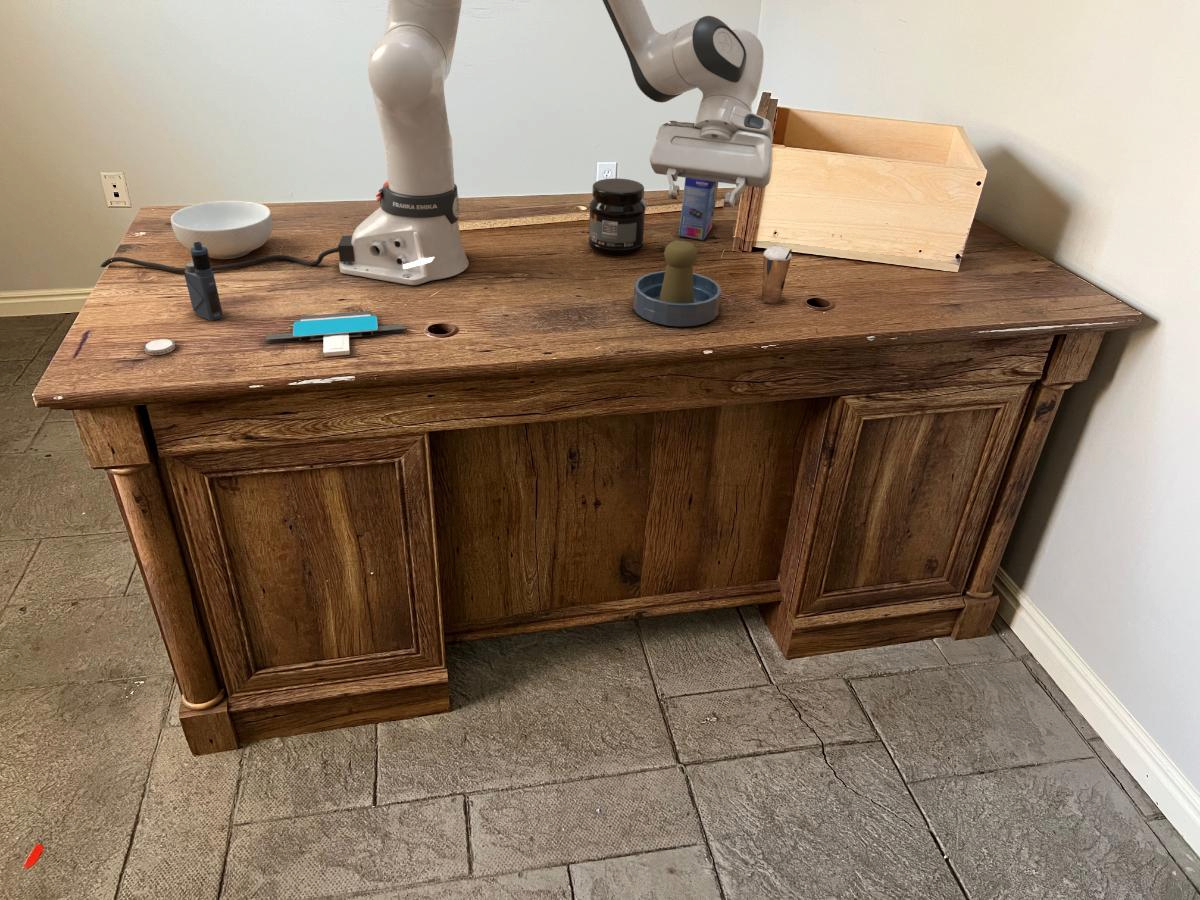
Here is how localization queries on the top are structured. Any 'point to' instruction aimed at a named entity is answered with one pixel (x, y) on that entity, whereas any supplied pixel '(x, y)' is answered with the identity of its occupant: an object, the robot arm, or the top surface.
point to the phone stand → (335, 330)
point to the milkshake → (774, 273)
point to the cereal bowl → (223, 227)
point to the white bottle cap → (159, 346)
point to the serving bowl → (676, 313)
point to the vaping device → (202, 284)
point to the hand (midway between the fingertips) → (700, 201)
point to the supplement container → (617, 217)
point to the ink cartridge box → (697, 208)
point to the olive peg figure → (679, 273)
